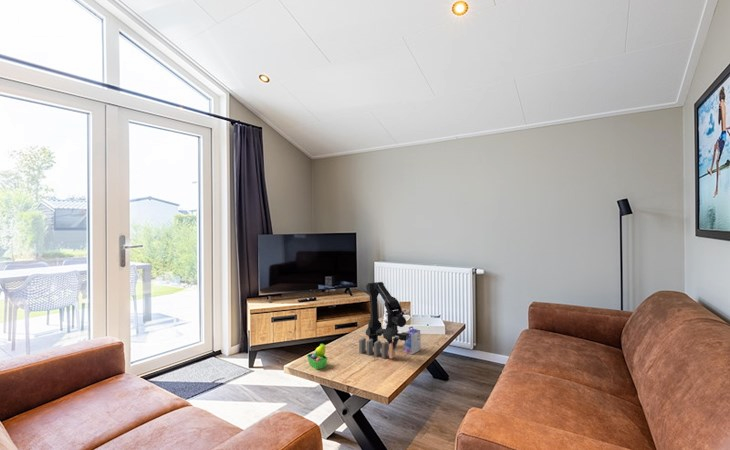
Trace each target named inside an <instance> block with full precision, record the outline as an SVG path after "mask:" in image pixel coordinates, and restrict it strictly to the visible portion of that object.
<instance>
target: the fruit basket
mask: <svg viewBox="0 0 730 450" xmlns="http://www.w3.org/2000/svg"><path fill="white" fill-rule="evenodd" d="M314 351H315V352H312V353H308V354H307V355H306V357H307V360H308V363H309V365H310V366H312V367H313V368H314V369H315V370H316V371H317V370H320V369H323V368H326V365H327V361H328V357H327V356H325V354H326V344H324V343H320V344H319V346H318V347H316V348H315V350H314Z"/></svg>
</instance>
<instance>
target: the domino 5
mask: <svg viewBox="0 0 730 450" xmlns="http://www.w3.org/2000/svg"><path fill="white" fill-rule="evenodd" d="M395 356H396V348H395V349H394V350H393V340H392V342H391V343H390V344H388V359H393V358H394V357H395Z"/></svg>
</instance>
